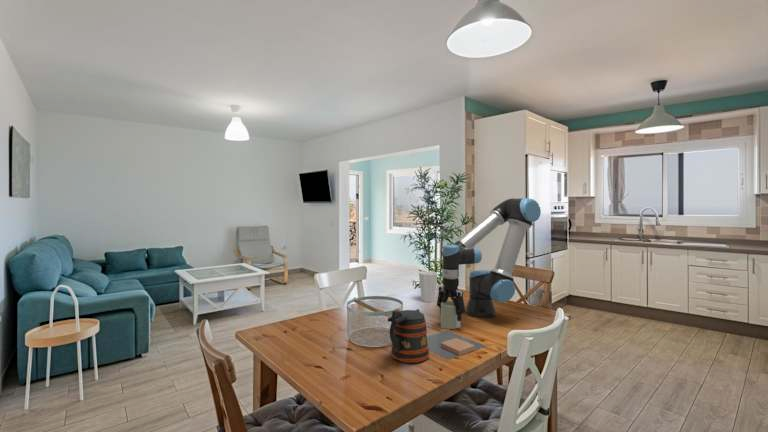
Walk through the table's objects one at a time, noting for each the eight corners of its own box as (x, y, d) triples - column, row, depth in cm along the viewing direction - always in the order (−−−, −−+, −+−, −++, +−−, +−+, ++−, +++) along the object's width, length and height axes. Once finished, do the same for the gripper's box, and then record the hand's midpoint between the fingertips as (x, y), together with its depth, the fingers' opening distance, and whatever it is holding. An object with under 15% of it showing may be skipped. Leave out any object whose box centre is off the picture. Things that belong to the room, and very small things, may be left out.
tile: (456, 337, 151) (440, 342, 145) (475, 345, 142) (459, 351, 137) (456, 342, 151) (440, 347, 146) (474, 350, 143) (459, 355, 137)
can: (460, 331, 166) (460, 305, 165) (440, 330, 168) (440, 304, 167) (460, 324, 175) (460, 300, 174) (441, 323, 177) (441, 299, 176)
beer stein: (410, 372, 126) (410, 316, 125) (376, 362, 134) (376, 309, 134) (435, 354, 141) (435, 303, 141) (403, 345, 150) (403, 298, 149)
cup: (418, 302, 214) (418, 274, 213) (419, 298, 224) (419, 270, 223) (437, 303, 212) (437, 274, 211) (437, 298, 222) (437, 271, 221)
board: (447, 332, 165) (447, 330, 165) (486, 348, 147) (486, 346, 147) (410, 343, 152) (410, 341, 152) (448, 362, 134) (448, 359, 134)
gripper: (429, 274, 177) (429, 319, 178) (462, 282, 159) (462, 332, 160) (440, 273, 181) (440, 317, 182) (473, 280, 164) (473, 329, 165)
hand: (450, 324), depth 171 cm, fingers closed on can, 9 cm apart
